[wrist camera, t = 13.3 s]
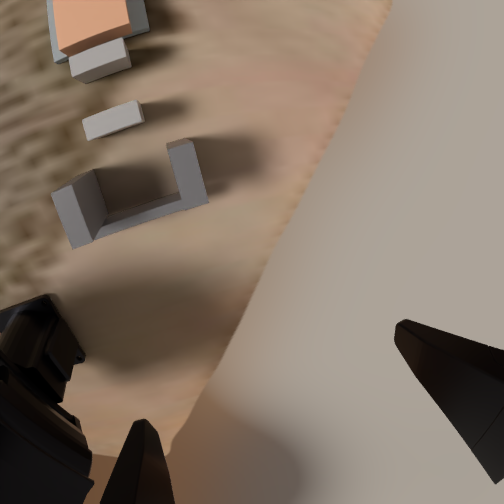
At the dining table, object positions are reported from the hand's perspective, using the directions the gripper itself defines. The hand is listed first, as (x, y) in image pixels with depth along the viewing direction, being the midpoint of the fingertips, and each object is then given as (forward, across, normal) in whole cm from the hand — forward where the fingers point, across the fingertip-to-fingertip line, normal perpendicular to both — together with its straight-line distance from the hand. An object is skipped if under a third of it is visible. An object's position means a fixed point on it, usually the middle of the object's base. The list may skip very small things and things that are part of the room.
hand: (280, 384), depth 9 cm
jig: (+13, +4, -9) cm, 16 cm away
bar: (+12, +3, -19) cm, 23 cm away
